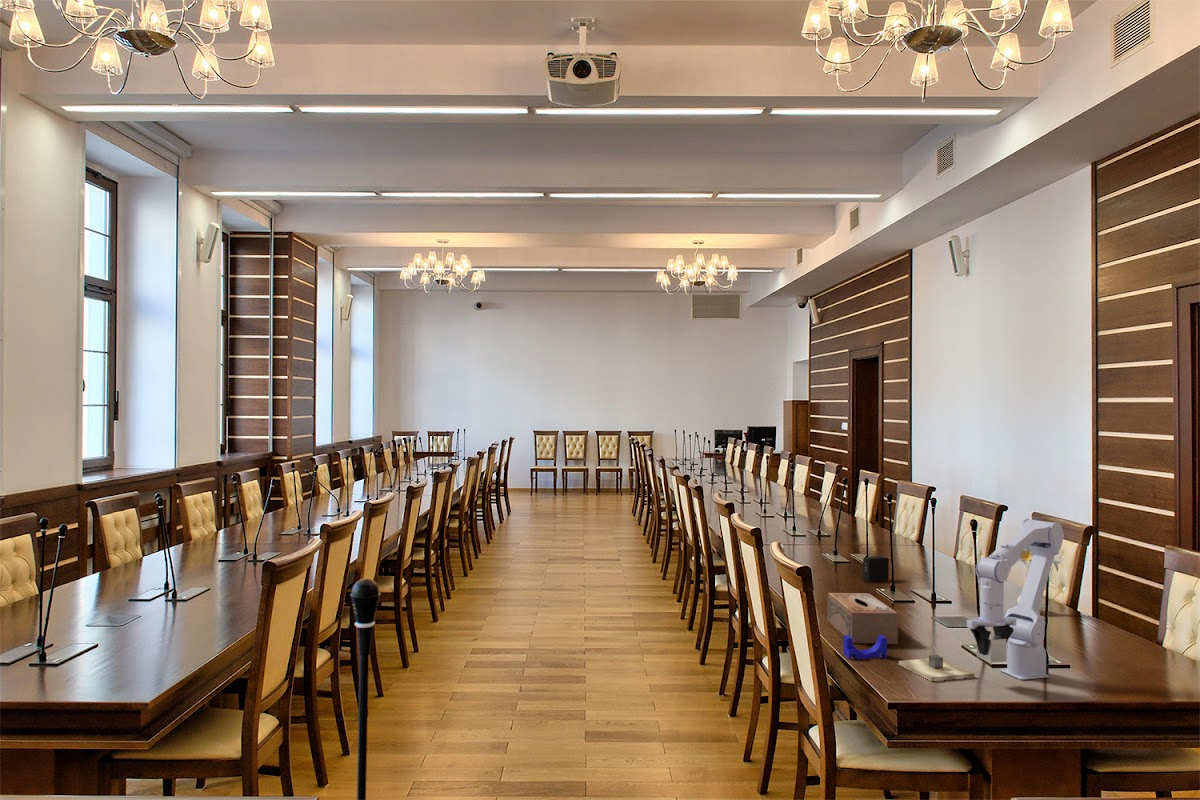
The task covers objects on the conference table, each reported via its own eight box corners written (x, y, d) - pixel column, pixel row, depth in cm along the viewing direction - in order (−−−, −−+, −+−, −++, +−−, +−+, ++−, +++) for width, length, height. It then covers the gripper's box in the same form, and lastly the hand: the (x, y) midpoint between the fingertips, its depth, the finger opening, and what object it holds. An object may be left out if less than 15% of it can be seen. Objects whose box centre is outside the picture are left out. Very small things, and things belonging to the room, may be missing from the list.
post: (936, 665, 222) (936, 654, 222) (942, 668, 220) (942, 657, 220) (928, 665, 221) (928, 655, 221) (935, 668, 219) (935, 658, 219)
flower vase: (1066, 618, 279) (1067, 548, 279) (1010, 614, 283) (1011, 545, 283) (1053, 609, 292) (1054, 542, 292) (1000, 605, 295) (1001, 539, 296)
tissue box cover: (897, 644, 246) (897, 613, 246) (851, 644, 246) (852, 612, 246) (868, 622, 272) (869, 593, 272) (827, 621, 272) (827, 592, 272)
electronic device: (862, 580, 337) (863, 557, 337) (882, 579, 340) (882, 556, 340) (869, 582, 333) (869, 558, 333) (888, 581, 336) (888, 557, 336)
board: (939, 661, 229) (939, 657, 229) (974, 677, 216) (974, 673, 216) (898, 665, 225) (898, 661, 225) (931, 681, 212) (931, 677, 212)
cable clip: (848, 660, 230) (849, 639, 230) (843, 655, 234) (843, 635, 234) (888, 660, 231) (888, 639, 231) (882, 655, 235) (882, 635, 235)
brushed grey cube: (992, 655, 214) (992, 633, 214) (1006, 661, 209) (1006, 638, 209) (976, 656, 213) (977, 634, 213) (990, 662, 208) (990, 640, 208)
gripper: (980, 608, 205) (979, 659, 205) (1025, 605, 209) (1024, 655, 209) (961, 601, 212) (960, 651, 212) (1005, 598, 216) (1004, 647, 216)
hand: (991, 653), depth 211 cm, fingers closed on brushed grey cube, 5 cm apart
